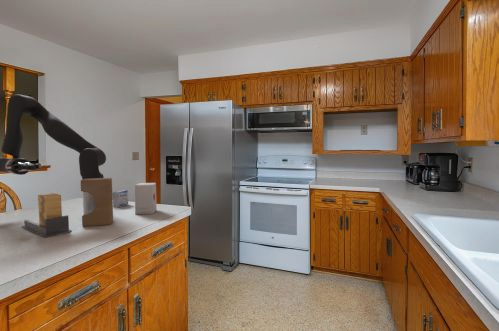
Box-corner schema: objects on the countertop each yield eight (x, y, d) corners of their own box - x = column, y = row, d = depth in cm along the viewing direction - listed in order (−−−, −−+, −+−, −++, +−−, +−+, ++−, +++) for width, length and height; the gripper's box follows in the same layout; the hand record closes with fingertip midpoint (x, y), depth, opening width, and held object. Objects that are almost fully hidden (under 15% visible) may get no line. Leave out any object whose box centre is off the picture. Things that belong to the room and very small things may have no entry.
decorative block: (81, 227, 115) (79, 180, 113) (86, 223, 120) (84, 178, 119) (110, 225, 117) (108, 179, 116) (113, 221, 123) (112, 177, 122)
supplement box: (153, 214, 137) (152, 184, 136) (134, 214, 136) (134, 185, 135) (157, 210, 146) (156, 182, 145) (139, 210, 145) (138, 182, 144)
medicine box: (119, 207, 153) (119, 192, 153) (112, 207, 154) (112, 191, 154) (128, 204, 161) (128, 190, 161) (121, 204, 162) (121, 189, 162)
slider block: (39, 229, 109) (37, 194, 108) (54, 226, 113) (52, 193, 112) (47, 232, 104) (46, 196, 103) (62, 229, 108) (60, 194, 107)
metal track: (21, 227, 115) (20, 211, 114) (46, 222, 122) (45, 207, 122) (44, 237, 101) (43, 220, 100) (71, 231, 108) (70, 215, 108)
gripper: (-2, 158, 121) (11, 159, 111) (34, 157, 132) (49, 158, 122) (-1, 175, 121) (12, 177, 111) (35, 173, 132) (50, 175, 122)
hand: (31, 167), depth 117 cm, fingers closed
